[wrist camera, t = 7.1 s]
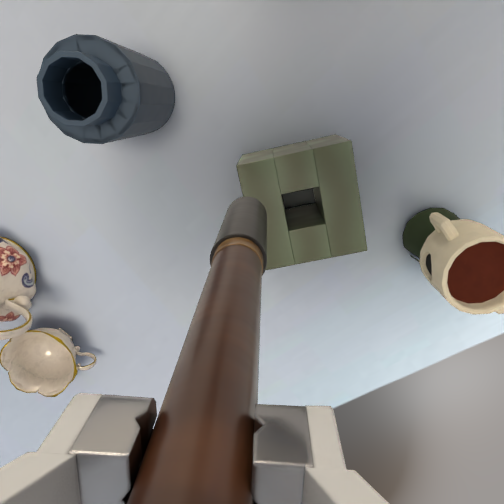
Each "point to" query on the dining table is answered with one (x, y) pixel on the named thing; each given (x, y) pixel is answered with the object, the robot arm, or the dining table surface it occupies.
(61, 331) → the chinaware
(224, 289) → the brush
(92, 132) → the steel bottle
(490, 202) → the dining table surface
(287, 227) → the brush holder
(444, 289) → the character mug
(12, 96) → the dining table surface
